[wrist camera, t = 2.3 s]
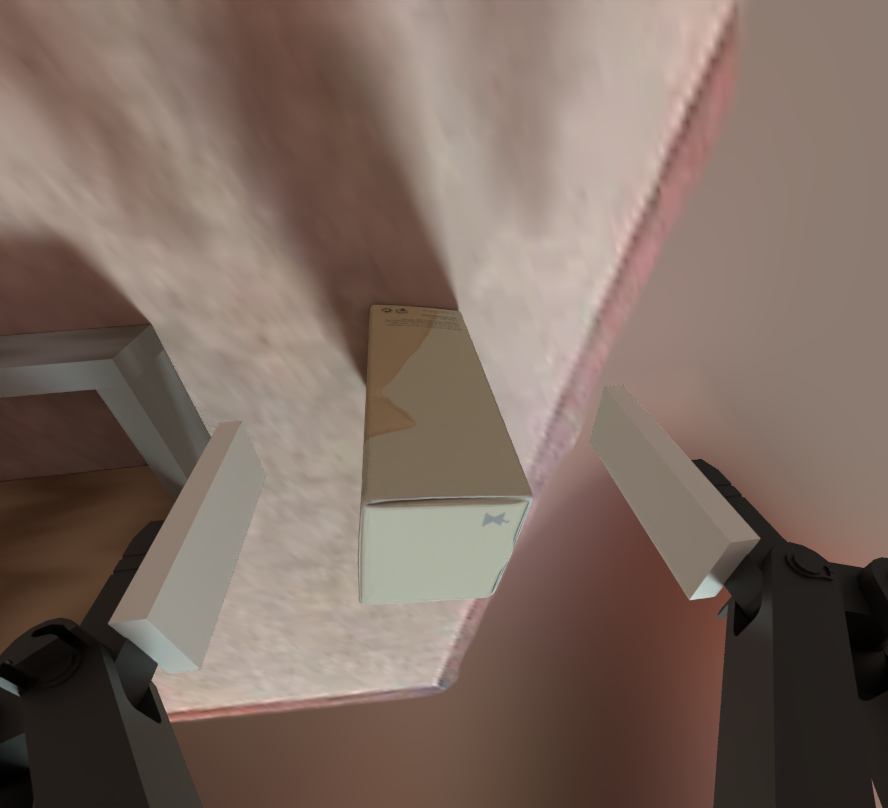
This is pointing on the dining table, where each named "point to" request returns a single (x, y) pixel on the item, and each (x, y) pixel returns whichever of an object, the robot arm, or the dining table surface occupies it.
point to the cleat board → (90, 493)
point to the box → (433, 465)
